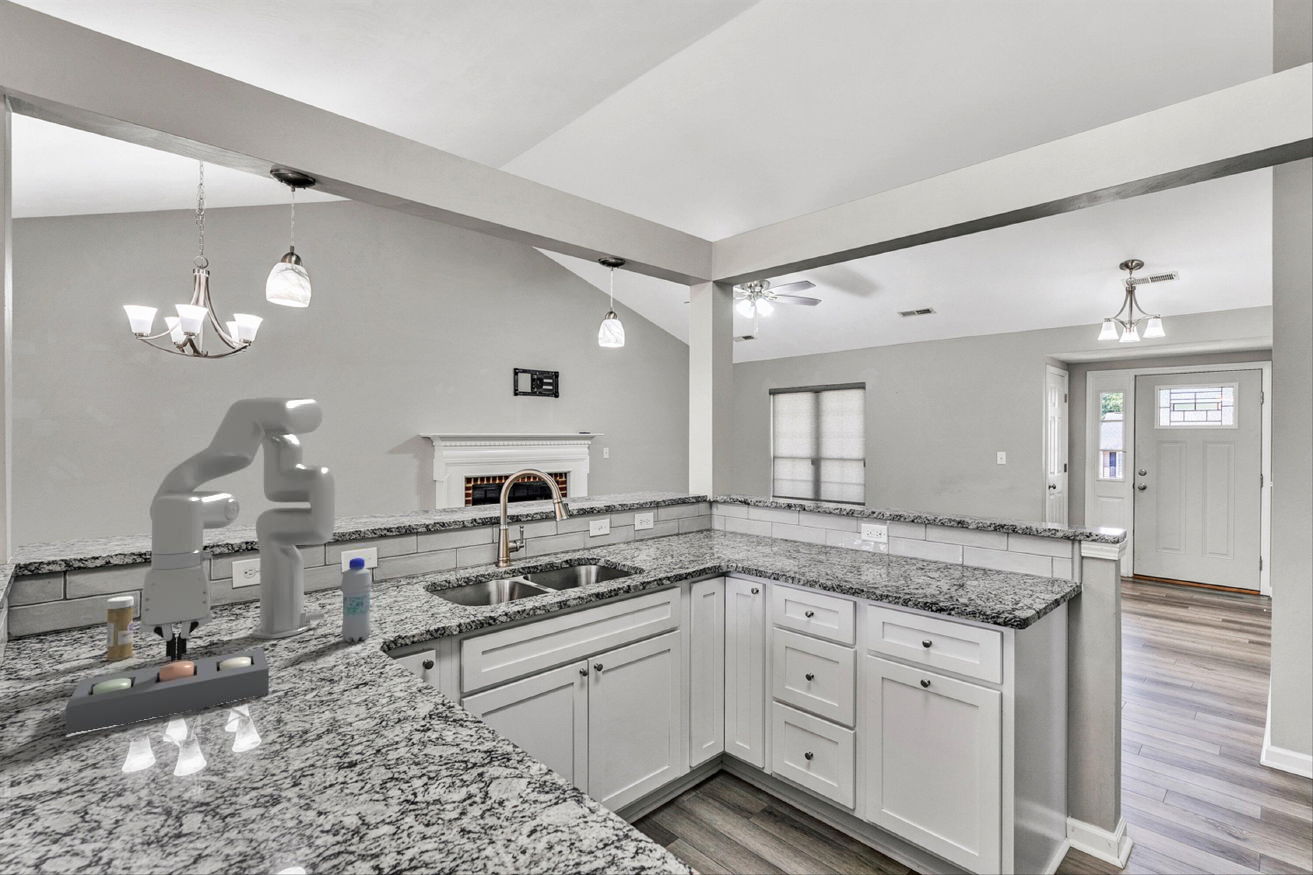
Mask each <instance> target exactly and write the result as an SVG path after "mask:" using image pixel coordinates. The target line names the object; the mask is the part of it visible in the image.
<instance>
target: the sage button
mask: <svg viewBox="0 0 1313 875" xmlns="http://www.w3.org/2000/svg"><path fill="white" fill-rule="evenodd" d="M126 688H131V679H127V678H122V679H114V680H109V681H105V682H102V683H99V684H97V685H95V686H94V687H93V695H94V694H99V693H104V692H110V691H115V690H120V689H126Z"/></svg>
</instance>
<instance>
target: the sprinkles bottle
mask: <svg viewBox="0 0 1313 875" xmlns="http://www.w3.org/2000/svg"><path fill="white" fill-rule="evenodd" d="M134 604H135V600H134V597H133V596H130V595H127V596H125V595H124V596H117V597H112V598H109V599H107V601H106V605H105V606H106V611H107V623H106V647H107V650H106V651H107V654H106V655H107V656H106V660H107V661H109V662H115V661H116V662H117V661H123V660H126V659H129V658H131V657H132V656H134V652H133V649H134V648H133V641H134V621H133V620H134V619H133V617H134V616H133V614H134V613H133V612H134V611H133V610H134V608H133V607H134Z"/></svg>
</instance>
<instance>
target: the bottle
mask: <svg viewBox="0 0 1313 875" xmlns="http://www.w3.org/2000/svg"><path fill="white" fill-rule="evenodd" d="M365 565H366V564H365V559H363V558H361V557H356V558H352V559H350V560H349V562H348V566H349V569H347V570H346V571H344V572H343V573H342V580H341V585H340V586H341V593H342V625H341V635H342V636H341V637H342V640H344V641H345V642H347V643H351V642H352V639H353V641H354V643H357V642H359V639H360V640H361V641H365V640H366V639H368V638H369V636H370V634H371V625H372V624H371V613H370V612H371V611H370V610H371V609H370V608H371V605H370V604H371V599H370V598H371V590H372V582H373V581H372V578H371V571H370V570H369V569H368V568H365ZM367 637H368V638H367Z"/></svg>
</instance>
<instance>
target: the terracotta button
mask: <svg viewBox="0 0 1313 875" xmlns="http://www.w3.org/2000/svg"><path fill="white" fill-rule="evenodd" d="M162 666H163V667H161V668H160V682H163V681H169V680H174V679H179V678H185V677H190V676H194V662H192V660H183V661H182V660H180V661H177V662H175V661H174V662H170V663H168V664H165V666H164V665H162Z"/></svg>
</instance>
